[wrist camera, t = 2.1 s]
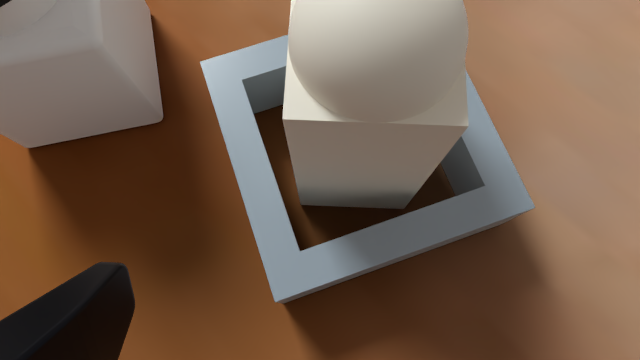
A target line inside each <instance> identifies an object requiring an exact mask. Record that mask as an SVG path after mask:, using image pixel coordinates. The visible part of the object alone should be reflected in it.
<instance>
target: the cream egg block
mask: <svg viewBox="0 0 640 360" xmlns="http://www.w3.org/2000/svg"><path fill="white" fill-rule="evenodd" d="M467 44H468V21H467V14H466V10H465V7H464V3H463V0H291V10H290V24H289V30H288V50H287V64H286V77H285V91H284V104H283V117H282V120H283V125H284V129H285V134H286V139H287V143H288V148H289V153H290V157H291V162H292V167H293V171H294V176H295V181H296V185H297V190H298V195H299V199H300V204H301V205H315V206H339V207H363V208H387V209H404V208H405V207H406V206H407V204H408V203H409V202H410V201H411V199H412V198H413V197H414V195H415V194H416V193H417V192H418V190H419V189H420V188H421V187H422V185H423V184H424V183H425V181H426V180H427V179H428V178H429V176H430V175H431V174H432V172H433V171H434V170H435V169H436V167H437V166H438V165H439V164H440V162H441V161H442V160H443V158H444V157H445V156H446V155H447V153H448V152H449V151H450V149H451V148H452V147H453V146H454V144H455V143H456V142H457V140H458V139H459V138H460V137H461V135H462V134H463V133H464V132H465V130H466V129H467V128H468V126H469V124H468V106H467V88H466V70H465V56H466V50H467Z"/></svg>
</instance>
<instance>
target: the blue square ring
mask: <svg viewBox="0 0 640 360" xmlns="http://www.w3.org/2000/svg"><path fill="white" fill-rule="evenodd" d="M287 50H288V35H286V36H282V37H279V38H276V39H273V40H269V41H266V42H263V43H260V44H256V45H253V46H250V47H247V48H243V49H240V50H237V51H234V52H230V53H227V54H224V55H221V56H217V57H214V58H211V59H208V60H204V61H201V62H200V63H201V67H202V70H203V73H204V76H205V79H206V83H207V86H208V89H209V92H210V95H211V99H212V102H213V105H214V108H215V111H216V115H217V118H218V121H219V124H220V127H221V131H222V134H223V137H224V140H225V143H226V147H227V150H228V153H229V156H230V159H231V163H232V166H233V169H234V172H235V175H236V179H237V182H238V185H239V188H240V191H241V195H242V198H243V201H244V204H245V207H246V211H247V214H248V217H249V220H250V223H251V227H252V230H253V233H254V236H255V239H256V243H257V246H258V249H259V252H260V255H261V259H262V262H263V265H264V268H265V271H266V275H267V278H268V281H269V284H270V287H271V291H272V294H273V297H274V300H275V302H277V303H282V304H284V303H286V302H289V301H292V300H295V299H297V298H300V297H303V296H306V295H308V294H311V293H314V292H317V291H319V290H322V289H325V288H328V287H330V286H333V285H336V284H339V283H341V282H344V281H347V280H350V279H352V278H355V277H358V276H361V275H363V274H366V273H369V272H372V271H374V270H377V269H380V268H383V267H385V266H388V265H391V264H394V263H396V262H399V261H402V260H405V259H407V258H410V257H413V256H416V255H418V254H421V253H424V252H426V251H429V250H432V249H435V248H437V247H440V246H443V245H446V244H448V243H451V242H454V241H457V240H459V239H462V238H465V237H468V236H470V235H473V234H476V233H479V232H481V231H484V230H487V229H490V228H492V227H495V226H498V225H501V224H503V223H505V222H507V221H509V220H511V219H513V218H515V217H517V216H519V215H521V214H523V213H525V212H527V211H529V210H531V209H533V208H535V206H534V204H533V202H532V200H531V198H530V196H529V194H528V192H527V190H526V188H525V186H524V184H523V182H522V180H521V178H520V176H519V174H518V172H517V170H516V168H515V166H514V164H513V162H512V160H511V158H510V156H509V154H508V152H507V151H506V149H505V147H504V145H503V143H502V141H501V139H500V137H499V135H498V133H497V131H496V129H495V127H494V125H493V123H492V121H491V119H490V117H489V115H488V113H487V111H486V109H485V107H484V105H483V103H482V101H481V99H480V97H479V95H478V93H477V91H476V89H475V87H474V85H473V83H472V81H471V79H470V77H469V75H468V73H467V71H466V88H467V106H468V124H469V126H468V128H467V129H466V130H465V132H464V133H463V134H462V135H461V137H460V138H459V139H458V140H457V142H456V143H455V144H454V146H453V147H452V148H451V149H450V151H449V152H448V153H447V155H446V156H445V157H444V158H443V160H442V161H441V162H440V163H441V165H442V167H443V170H444V172H445V174H446V176H447V178H448V181H449V183H450V185H451V187H452V189H453V192H454V194H455V197H452V198H449V199H446V200H444V201H441V202H438V203H435V204H432V205H430V206H427V207H424V208H421V209H418V210H415V211H413V212H410V213H407V214H404V215H401V216H398V217H396V218H393V219H390V220H387V221H384V222H382V223H379V224H376V225H373V226H370V227H367V228H365V229H362V230H359V231H356V232H353V233H350V234H348V235H345V236H342V237H339V238H336V239H334V240H331V241H328V242H325V243H322V244H319V245H317V246H314V247H311V248H308V249H305V250H302V251H300V249H299V246H298V243H297V240H296V237H295V235H294V232H293V229H292V226H291V223H290V220H289V217H288V214H287V211H286V208H285V205H284V202H283V199H282V196H281V193H280V190H279V187H278V184H277V181H276V178H275V175H274V173H273V170H272V167H271V164H270V161H269V158H268V155H267V152H266V149H265V146H264V143H263V140H262V137H261V134H260V131H259V128H258V125H257V122H256V119H255V116H254V114H255V113H258V112H261V111H264V110H267V109H270V108H274V107H277V106H280V105H283V104H284V91H285V77H286V64H287ZM465 70H466V69H465Z"/></svg>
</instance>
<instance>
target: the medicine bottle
mask: <svg viewBox="0 0 640 360" xmlns="http://www.w3.org/2000/svg"><path fill="white" fill-rule="evenodd" d="M162 119H163V109H162V101H161V94H160V86H159V78H158V70H157V62H156V54H155V46H154V38H153V31H152V23H151V15H150V9H149V7H148V6H147V4H146V2H145V0H0V134H2V135H4V136H5V137H7V138H9V139H11V140H13V141H15V142H16V143H18V144H20V145H22V146H24V147H26V148H33V147H38V146H43V145H48V144H53V143H58V142H63V141H68V140H73V139H78V138H83V137H88V136H93V135H98V134H103V133H108V132H113V131H118V130H123V129H128V128H133V127H138V126H143V125H148V124H153V123H158V122H160V121H161V120H162Z"/></svg>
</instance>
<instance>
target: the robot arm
mask: <svg viewBox="0 0 640 360" xmlns="http://www.w3.org/2000/svg"><path fill="white" fill-rule="evenodd" d="M134 309H135V298H134V294H133V290H132V285H131V281H130V277H129V272H128V269H127V267H126V266H125V265H124V264H123V263H114V262H100V263H97V264H95V265H93V266H92V267H90V268H88V269H87V270H85V271H83V272H81V273H80V274H78V275H76V276H75V277H73V278H71V279H70V280H68V281H66V282H65V283H63V284H61V285H60V286H58V287H56V288H55V289H53V290H51V291H50V292H48V293H46V294H44V295H43V296H41V297H39V298H38V299H36V300H34V301H33V302H31V303H29V304H28V305H26V306H24V307H23V308H21V309H19V310H18V311H16V312H14V313H12V314H11V315H9V316H7V317H6V318H4V319H2V320H1V321H0V360H118V358H119V355H120V352H121V349H122V346H123V343H124V340H125V337H126V334H127V331H128V328H129V325H130V323H131V320H132V317H133V313H134Z"/></svg>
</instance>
